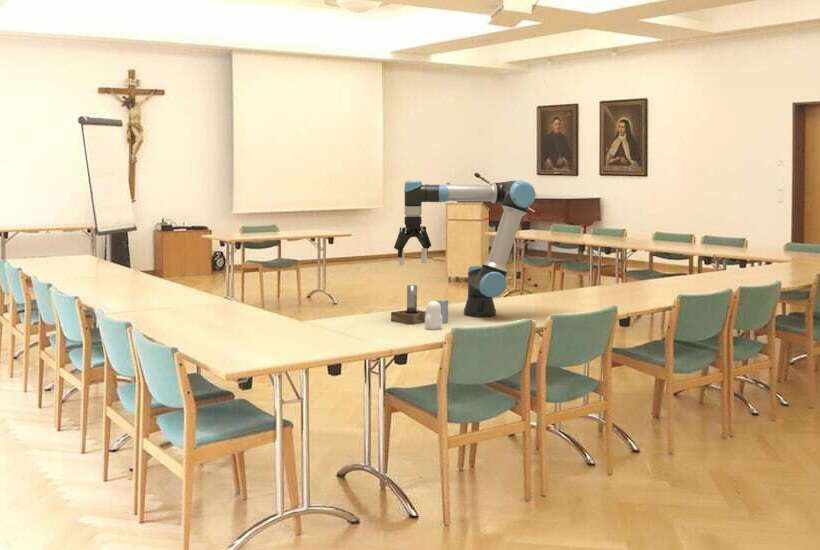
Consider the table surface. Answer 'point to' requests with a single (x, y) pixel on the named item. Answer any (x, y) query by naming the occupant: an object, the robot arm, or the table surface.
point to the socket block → (408, 317)
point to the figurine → (433, 316)
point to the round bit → (411, 299)
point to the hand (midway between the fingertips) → (412, 264)
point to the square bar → (444, 310)
